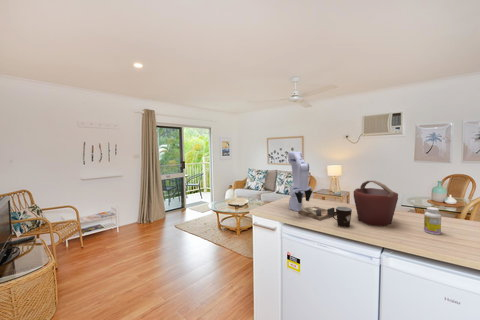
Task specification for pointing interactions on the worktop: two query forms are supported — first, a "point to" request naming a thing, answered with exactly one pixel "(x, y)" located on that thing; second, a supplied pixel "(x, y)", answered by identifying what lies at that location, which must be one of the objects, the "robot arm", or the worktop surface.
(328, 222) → the worktop surface
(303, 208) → the folding leg
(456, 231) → the worktop surface
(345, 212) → the coffee mug
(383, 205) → the bucket
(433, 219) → the supplement bottle
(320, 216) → the stool seat
